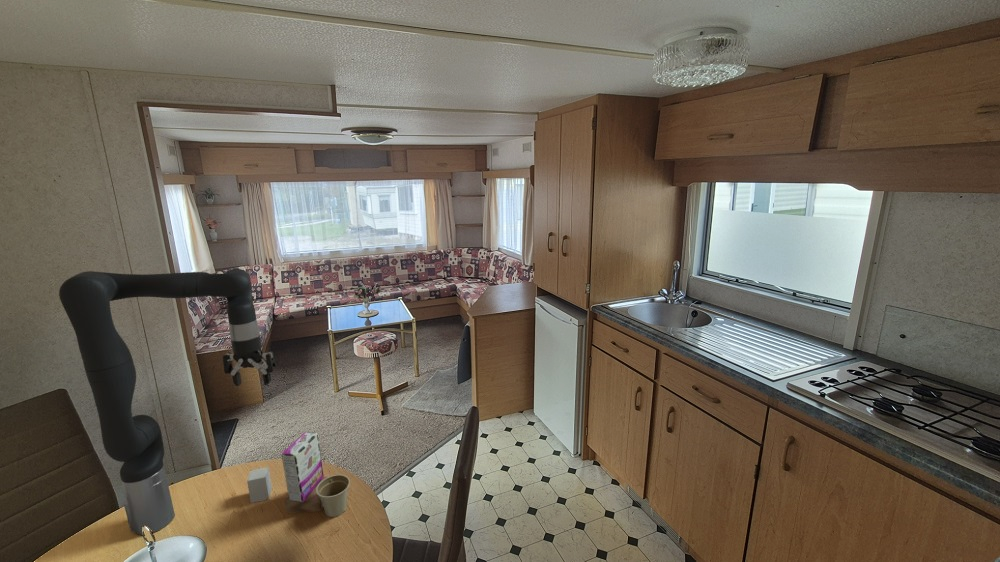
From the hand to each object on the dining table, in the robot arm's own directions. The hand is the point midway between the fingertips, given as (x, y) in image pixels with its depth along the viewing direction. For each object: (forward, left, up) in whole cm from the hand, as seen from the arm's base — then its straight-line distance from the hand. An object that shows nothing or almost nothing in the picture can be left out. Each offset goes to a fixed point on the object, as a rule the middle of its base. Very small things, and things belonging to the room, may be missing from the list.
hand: (253, 384), depth 128 cm
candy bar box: (+16, -8, -32) cm, 37 cm away
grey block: (0, -5, -36) cm, 36 cm away
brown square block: (+16, -8, -36) cm, 40 cm away
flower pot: (+26, -13, -36) cm, 46 cm away
